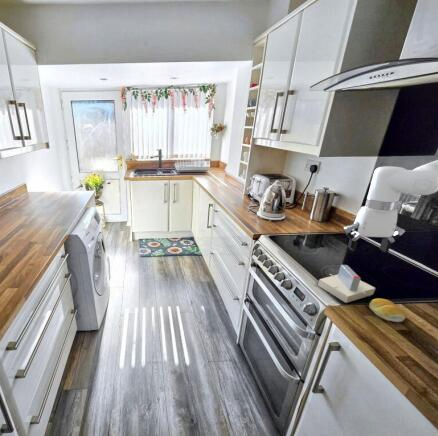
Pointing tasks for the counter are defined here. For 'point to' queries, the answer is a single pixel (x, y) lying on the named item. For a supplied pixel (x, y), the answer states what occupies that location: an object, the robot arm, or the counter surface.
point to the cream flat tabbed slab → (345, 289)
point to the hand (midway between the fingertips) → (367, 250)
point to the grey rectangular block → (349, 277)
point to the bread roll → (387, 310)
